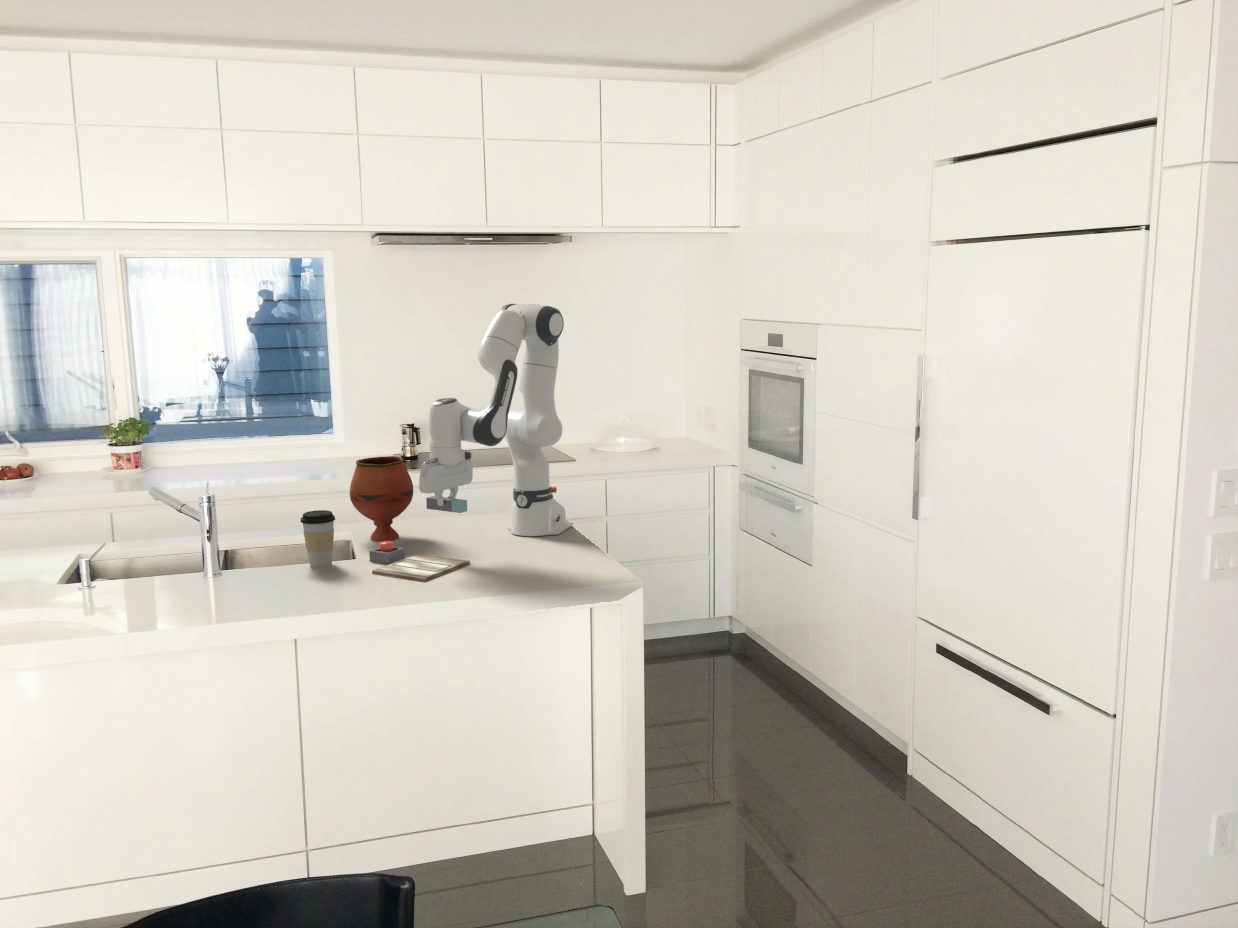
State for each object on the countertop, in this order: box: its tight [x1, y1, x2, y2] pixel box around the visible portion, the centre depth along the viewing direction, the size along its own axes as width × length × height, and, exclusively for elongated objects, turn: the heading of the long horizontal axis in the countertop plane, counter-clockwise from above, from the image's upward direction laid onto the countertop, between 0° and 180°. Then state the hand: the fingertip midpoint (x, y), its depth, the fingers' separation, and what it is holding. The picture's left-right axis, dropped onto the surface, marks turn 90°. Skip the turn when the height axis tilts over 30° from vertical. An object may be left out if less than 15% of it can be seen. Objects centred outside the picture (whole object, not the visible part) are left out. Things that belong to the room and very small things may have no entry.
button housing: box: [368, 546, 406, 565], centre depth 289 cm, size 7×7×3 cm
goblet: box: [349, 455, 414, 543], centre depth 312 cm, size 19×19×25 cm
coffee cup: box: [300, 509, 336, 569], centre depth 282 cm, size 9×9×15 cm
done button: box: [379, 540, 395, 553], centre depth 288 cm, size 4×4×3 cm
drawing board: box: [371, 553, 471, 583], centre depth 279 cm, size 20×18×1 cm
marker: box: [425, 495, 468, 514], centre depth 287 cm, size 12×3×3 cm, turn 62°
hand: (446, 504), depth 287 cm, fingers closed on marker, 3 cm apart
